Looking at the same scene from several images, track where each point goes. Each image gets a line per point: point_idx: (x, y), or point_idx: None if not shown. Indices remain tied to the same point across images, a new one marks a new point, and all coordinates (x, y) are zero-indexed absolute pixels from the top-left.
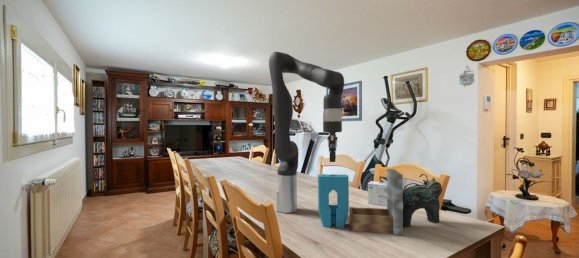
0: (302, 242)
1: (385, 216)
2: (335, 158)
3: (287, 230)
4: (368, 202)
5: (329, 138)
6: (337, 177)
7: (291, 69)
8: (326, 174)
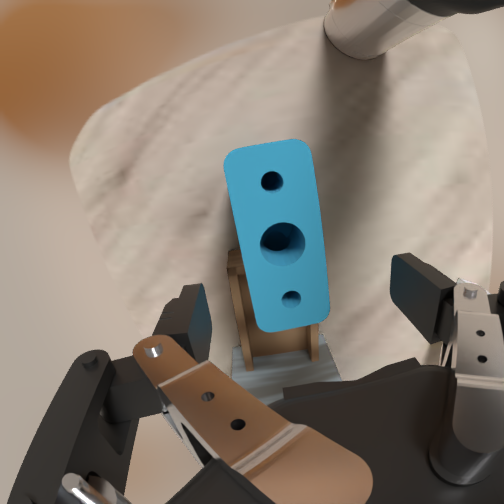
0: (111, 144)
1: (244, 357)
2: (392, 300)
3: (174, 75)
4: (459, 279)
5: (22, 484)
6: (246, 276)
7: None
8: (315, 195)
